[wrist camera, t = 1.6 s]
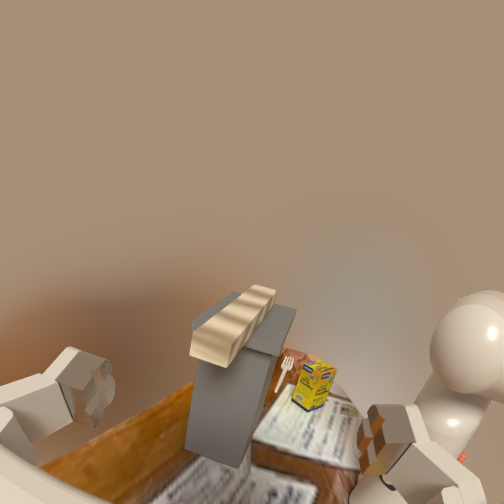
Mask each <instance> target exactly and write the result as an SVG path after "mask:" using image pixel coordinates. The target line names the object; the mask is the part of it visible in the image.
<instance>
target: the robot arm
mask: <svg viewBox="0 0 504 504" xmlns="http://www.w3.org/2000/svg"><path fill="white" fill-rule="evenodd" d="M430 361H431V365H432V368H433V372H432V373H431V375H430V377H429V379H428V380H427V382H426V384H425V385H424V387H423V389H422V390H421V392H420V393H419V395H418V396H417V398H416V400H415V402H414V404H407V405H406V404H405V405H404V404H403V405H399V404H398V405H377V404H376V405H375V404H374V405H372V406H371V407H370V408H369V410H368V412H367V414H368V418H367V419H365V420H363V421H362V423H361V425H360V427H359V429H358V433H357V446H358V449H359V450H360V451H361V452H362V453H363V454H362V456H361V457H360V459H359V461H360V467H361V473H360V474H359V475H358V478H357V485H356V487H355V488H354V489H353V491H352V492H351V494H350V498H349V504H488V503H487V500H486V497H485V494H484V491H483V488H482V485H481V482H480V479H479V478H478V477H477V476H475V475H474V474H473V473H472V472H471V471H469V470H468V469H467V468H466V467H465V466H463V465H462V464H461V462H462V461H463V460H464V459H465V458H466V456H467V455H466V454H465V453H463V452H462V451H463V450H464V448H465V446H466V445H467V443H468V442H469V440H470V438H471V437H472V435H473V434H474V432H475V430H476V429H477V427H478V425H479V423H480V422H481V420H482V417H483V416H484V414H485V412H486V410H487V408H488V406H489V404H490V402H491V400H494V401H496V402H499V403H502V404H504V293H501V292H499V291H495V290H486V291H481V292H478V293H474V294H472V295H468V296H466V297H463V298H461V299H459V300H457V301H456V302H455V303H453V304H452V305H451V306H450V307H449V308H448V309H447V310H446V311H445V313H444V314H443V315H442V317H441V319H440V320H439V322H438V324H437V326H436V328H435V330H434V333H433V335H432V339H431V343H430ZM111 370H112V368H111V363H110V361H108V360H106V359H104V358H101V357H98V356H95V355H92V354H89V353H87V352H84V351H80V350H78V349H76V348H73V347H67V348H66V349H65V350H64V351H63V352H62V353H61V354H60V355H59V356H58V358H57V359H56V360H55V361H54V362H53V363H52V364H51V365H50V366H49V368H48V369H47V370H46V371H45V372H44V373H43V374H39V373H38V374H36V375H33V376H30V377H27V378H24V379H21V380H18V381H15V382H12V383H9V384H6V385H3V386H0V504H113V503H111V502H108V501H106V500H103V499H101V498H99V497H96V496H94V495H92V494H89V493H87V492H85V491H83V490H80V489H78V488H76V487H74V486H72V485H70V484H68V483H66V482H64V481H62V480H60V479H58V478H56V477H54V476H53V475H51V474H49V473H47V472H45V471H43V470H42V469H40V468H38V467H37V466H36V464H37V463H38V461H39V459H40V457H39V454H38V453H37V451H36V449H35V448H34V446H33V445H32V444H33V443H35V442H37V441H39V440H41V439H43V438H45V437H46V436H48V435H50V434H52V433H54V432H55V431H57V430H59V429H60V428H62V427H64V426H66V425H68V424H69V423H71V422H73V420H74V421H77V422H80V423H82V424H85V425H87V426H90V427H92V428H96V426H97V424H98V423H99V421H100V419H101V418H102V416H103V410H102V408H104V407H106V406H108V405H109V404H110V402H111V401H112V399H113V396H114V392H115V382H114V379H113V377H112V376H111V375H110V374H109V373H110V371H111ZM502 504H504V503H502Z"/></svg>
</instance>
